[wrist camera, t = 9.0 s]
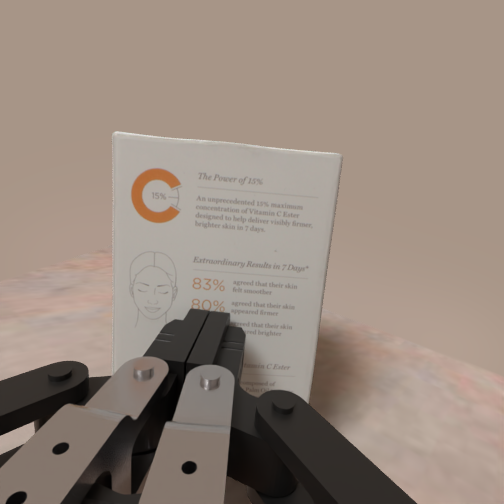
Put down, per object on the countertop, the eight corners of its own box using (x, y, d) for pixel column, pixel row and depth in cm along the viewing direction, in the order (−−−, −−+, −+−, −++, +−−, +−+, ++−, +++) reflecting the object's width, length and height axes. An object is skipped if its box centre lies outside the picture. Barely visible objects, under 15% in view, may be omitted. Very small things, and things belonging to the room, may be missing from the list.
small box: (285, 383, 21) (314, 159, 18) (301, 472, 15) (349, 151, 12) (149, 373, 21) (157, 144, 18) (106, 458, 14) (108, 127, 12)
